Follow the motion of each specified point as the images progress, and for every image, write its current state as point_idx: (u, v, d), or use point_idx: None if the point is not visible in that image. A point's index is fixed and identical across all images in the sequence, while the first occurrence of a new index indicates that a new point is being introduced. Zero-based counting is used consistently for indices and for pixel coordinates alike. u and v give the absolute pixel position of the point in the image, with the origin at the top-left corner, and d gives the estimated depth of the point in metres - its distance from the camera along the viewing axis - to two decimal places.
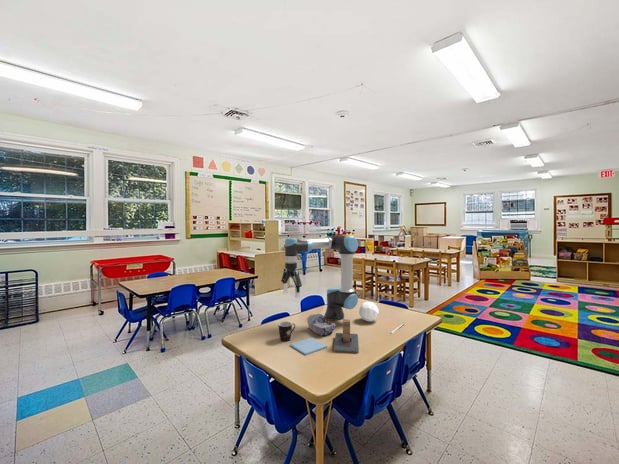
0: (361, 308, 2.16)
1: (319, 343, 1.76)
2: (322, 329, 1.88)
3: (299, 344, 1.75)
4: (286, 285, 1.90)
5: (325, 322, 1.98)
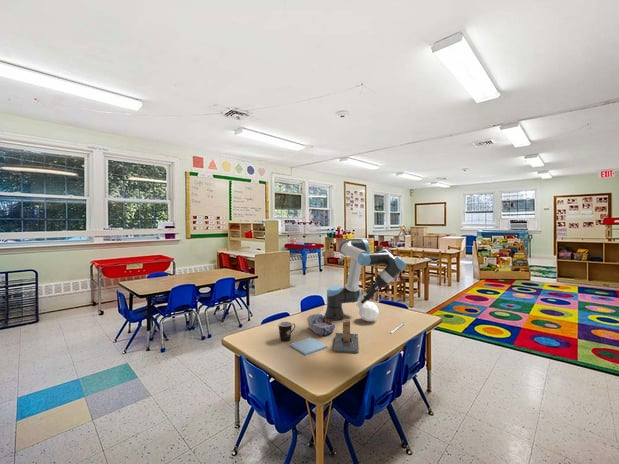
0: (361, 308, 2.16)
1: (319, 343, 1.76)
2: (322, 329, 1.88)
3: (299, 344, 1.75)
4: None
5: (325, 322, 1.98)
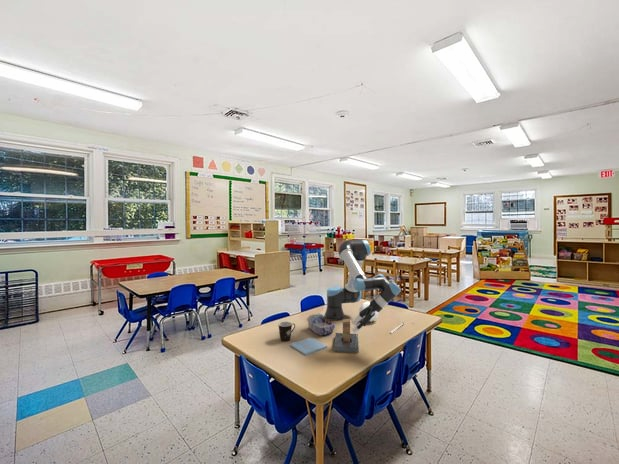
0: (361, 308, 2.16)
1: (319, 343, 1.76)
2: (321, 329, 1.88)
3: (299, 344, 1.75)
4: None
5: (325, 322, 1.98)
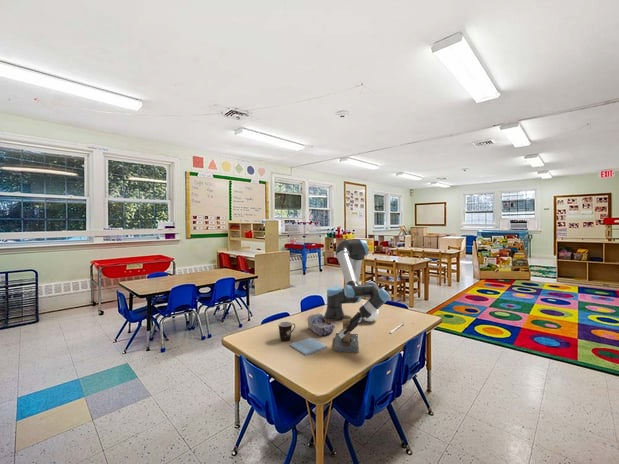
0: None
1: (319, 343, 1.76)
2: (321, 329, 1.88)
3: (299, 344, 1.75)
4: None
5: (325, 322, 1.98)
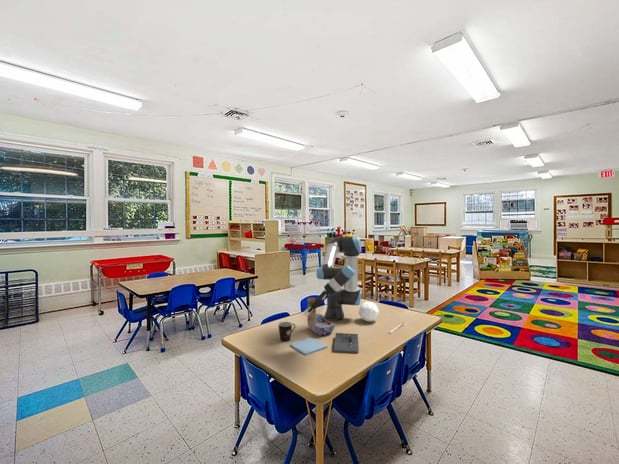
0: (361, 308, 2.16)
1: (319, 343, 1.76)
2: (321, 329, 1.88)
3: (299, 344, 1.75)
4: None
5: (325, 322, 1.98)
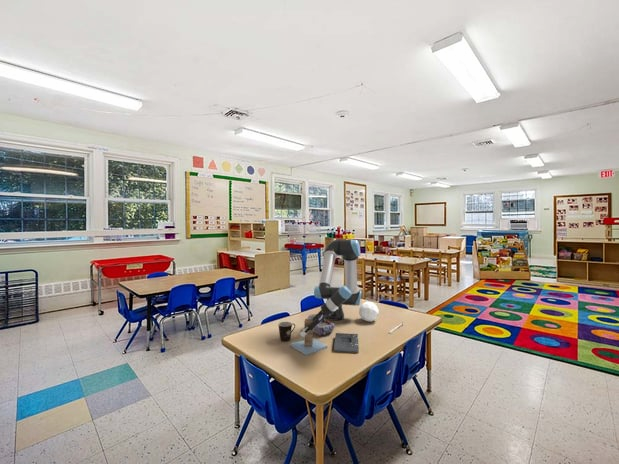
0: (361, 308, 2.16)
1: (319, 343, 1.76)
2: (320, 329, 1.88)
3: (299, 344, 1.75)
4: None
5: (324, 322, 1.99)
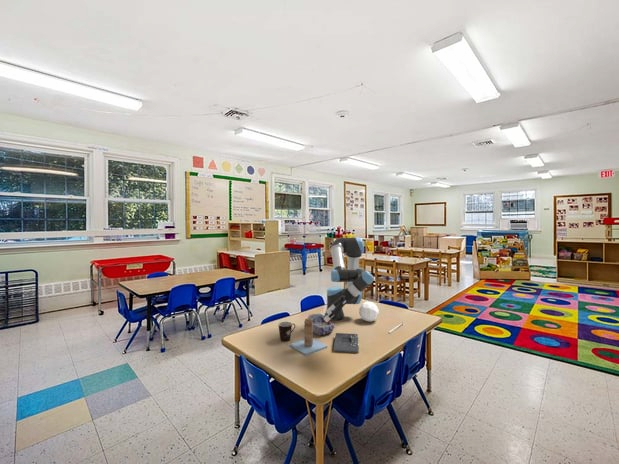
0: (361, 308, 2.16)
1: (319, 343, 1.76)
2: (320, 329, 1.88)
3: (299, 344, 1.75)
4: None
5: None
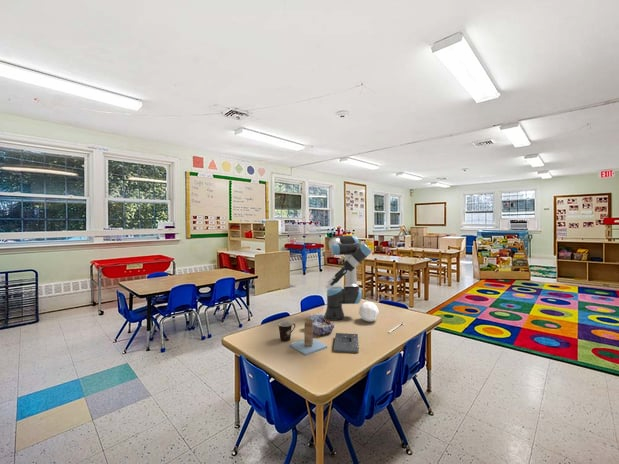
0: (361, 308, 2.16)
1: (319, 343, 1.76)
2: (320, 329, 1.89)
3: (299, 344, 1.75)
4: None
5: None
